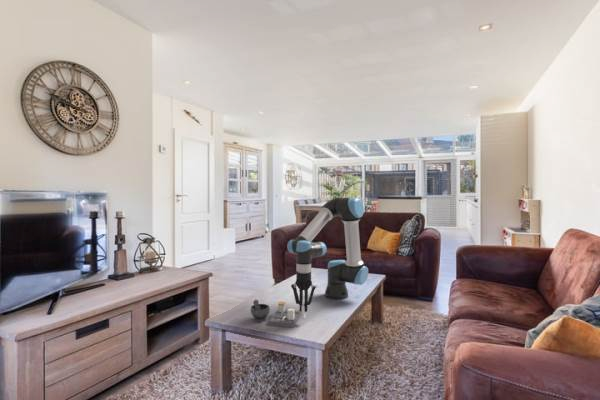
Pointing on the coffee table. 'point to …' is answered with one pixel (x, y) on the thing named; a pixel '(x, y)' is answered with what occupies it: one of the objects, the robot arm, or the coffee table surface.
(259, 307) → the mortar and pestle
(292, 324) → the console
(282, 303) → the fader
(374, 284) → the coffee table surface
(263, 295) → the coffee table surface
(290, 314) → the fader
